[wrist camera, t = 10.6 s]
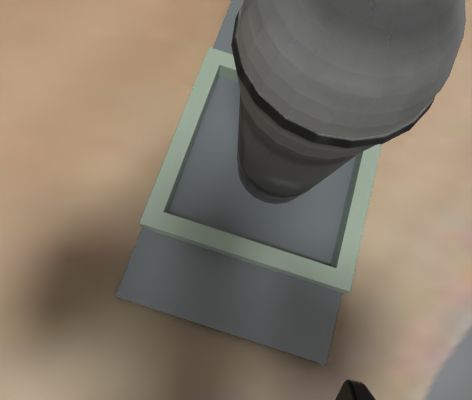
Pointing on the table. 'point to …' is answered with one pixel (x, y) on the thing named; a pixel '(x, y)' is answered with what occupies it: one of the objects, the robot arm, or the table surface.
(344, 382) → the robot arm
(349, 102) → the beverage cup
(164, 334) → the table surface
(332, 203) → the socket board
